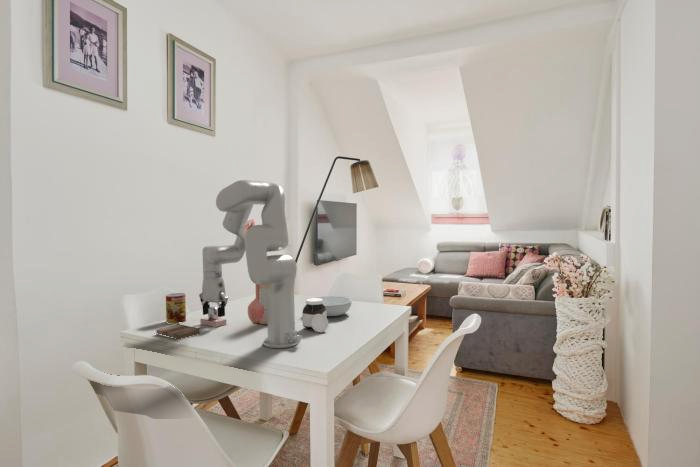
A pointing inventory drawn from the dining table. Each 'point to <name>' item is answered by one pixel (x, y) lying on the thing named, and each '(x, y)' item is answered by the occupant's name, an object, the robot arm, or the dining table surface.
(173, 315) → the canned food
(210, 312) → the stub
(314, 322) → the spread jar
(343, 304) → the serving bowl
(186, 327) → the brown flat block
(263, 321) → the cracker box
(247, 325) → the dining table surface
